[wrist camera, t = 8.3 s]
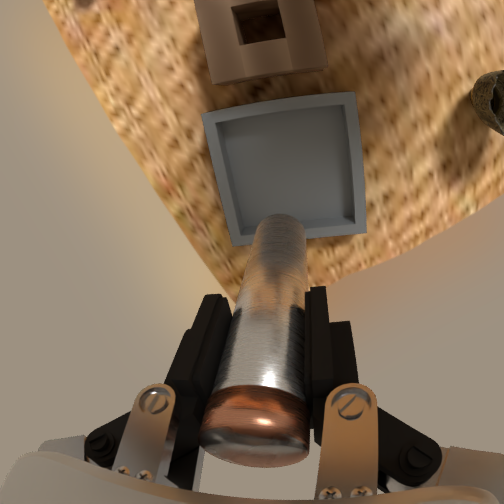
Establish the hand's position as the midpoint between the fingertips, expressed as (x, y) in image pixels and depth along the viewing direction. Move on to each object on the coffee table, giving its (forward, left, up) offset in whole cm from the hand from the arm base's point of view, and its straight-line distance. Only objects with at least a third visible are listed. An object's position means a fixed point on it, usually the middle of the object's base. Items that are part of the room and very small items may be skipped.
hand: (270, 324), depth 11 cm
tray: (0, 0, -25) cm, 25 cm away
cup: (-24, -7, -25) cm, 35 cm away
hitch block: (0, -15, -25) cm, 29 cm away
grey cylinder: (0, 0, -7) cm, 7 cm away
